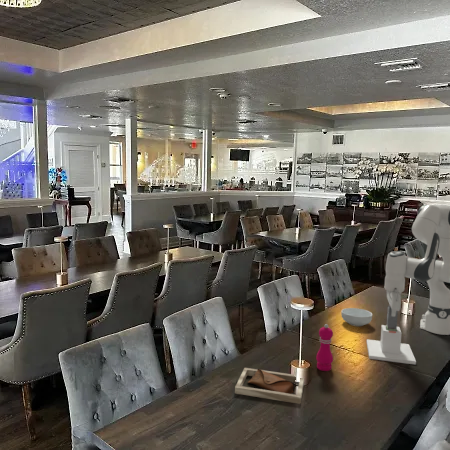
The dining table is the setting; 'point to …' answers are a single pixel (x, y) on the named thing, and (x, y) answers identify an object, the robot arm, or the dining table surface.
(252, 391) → the birch tray rim
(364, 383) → the dining table surface
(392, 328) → the jack column
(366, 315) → the cereal bowl
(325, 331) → the pepper mill
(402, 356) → the stand housing
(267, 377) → the sunglasses case
